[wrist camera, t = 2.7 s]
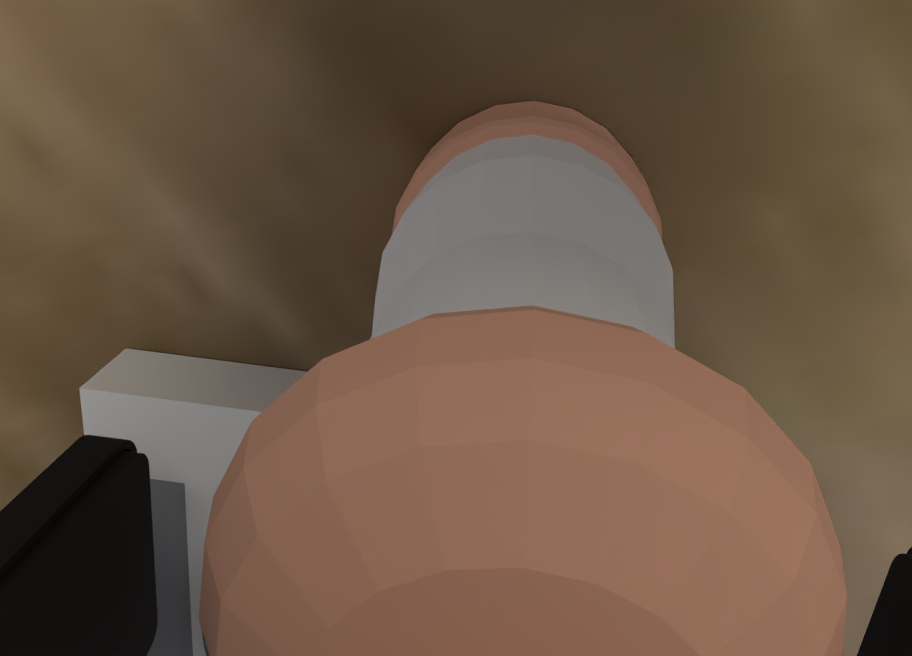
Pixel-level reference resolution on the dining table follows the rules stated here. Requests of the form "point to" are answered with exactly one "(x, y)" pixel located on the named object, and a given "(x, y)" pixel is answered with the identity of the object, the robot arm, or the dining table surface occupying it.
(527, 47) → the dining table surface
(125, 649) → the robot arm
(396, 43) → the dining table surface
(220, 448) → the base
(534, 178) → the salt shaker
